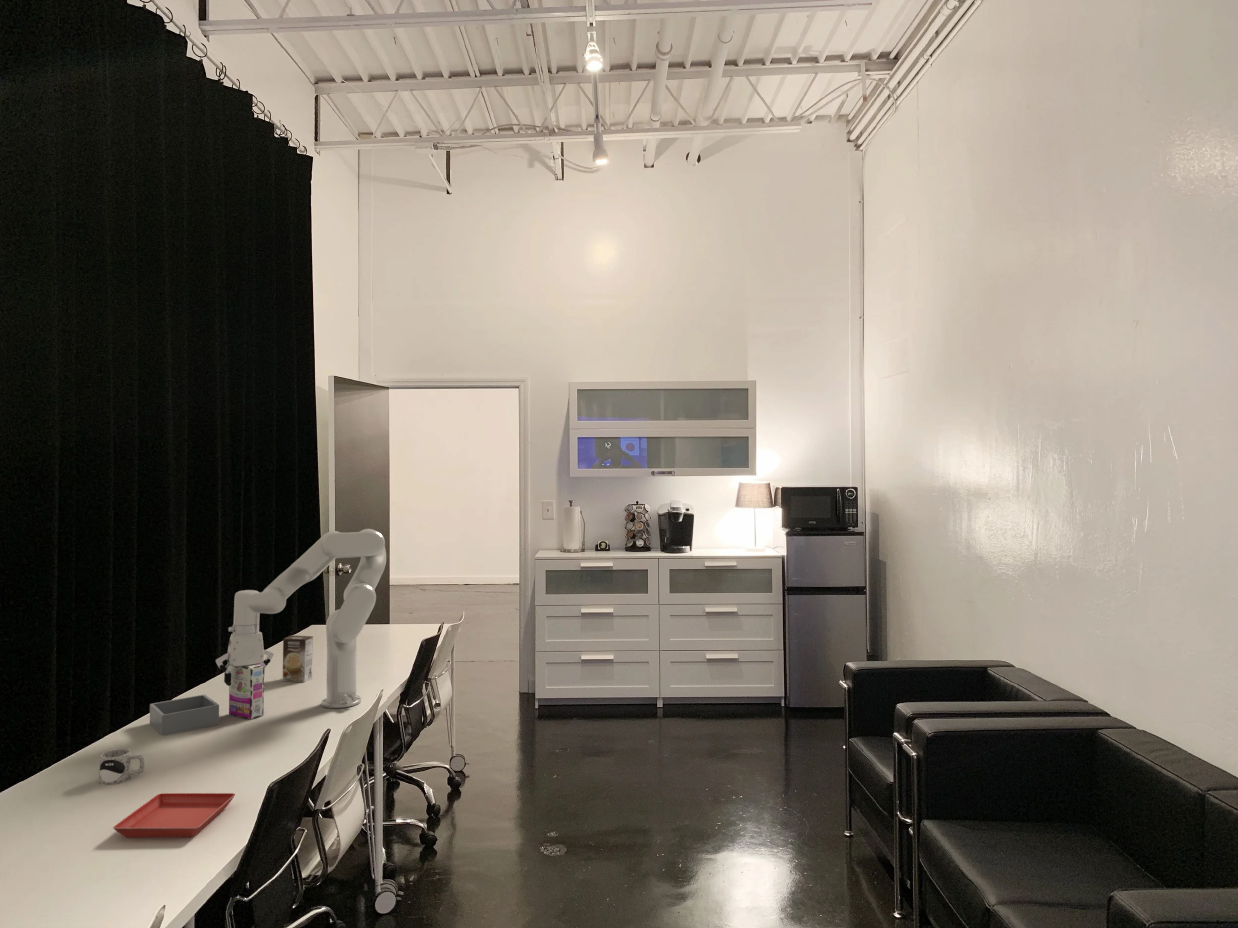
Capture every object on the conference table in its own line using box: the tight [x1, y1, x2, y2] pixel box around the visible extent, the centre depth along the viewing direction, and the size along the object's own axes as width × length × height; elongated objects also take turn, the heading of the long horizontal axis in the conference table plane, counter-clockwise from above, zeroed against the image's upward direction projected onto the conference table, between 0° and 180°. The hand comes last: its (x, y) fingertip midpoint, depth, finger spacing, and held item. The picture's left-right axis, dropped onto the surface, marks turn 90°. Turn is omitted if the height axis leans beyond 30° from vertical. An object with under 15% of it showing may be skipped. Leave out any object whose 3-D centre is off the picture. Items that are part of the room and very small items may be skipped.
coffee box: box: [282, 634, 314, 683], centre depth 292 cm, size 9×6×16 cm
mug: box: [98, 748, 145, 785], centre depth 198 cm, size 10×7×7 cm
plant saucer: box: [113, 792, 236, 839], centre depth 173 cm, size 18×18×3 cm
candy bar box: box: [228, 664, 265, 720], centre depth 249 cm, size 11×5×16 cm, turn 62°
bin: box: [149, 694, 220, 737], centre depth 241 cm, size 16×16×6 cm
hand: (244, 682), depth 249 cm, fingers open, 9 cm apart
